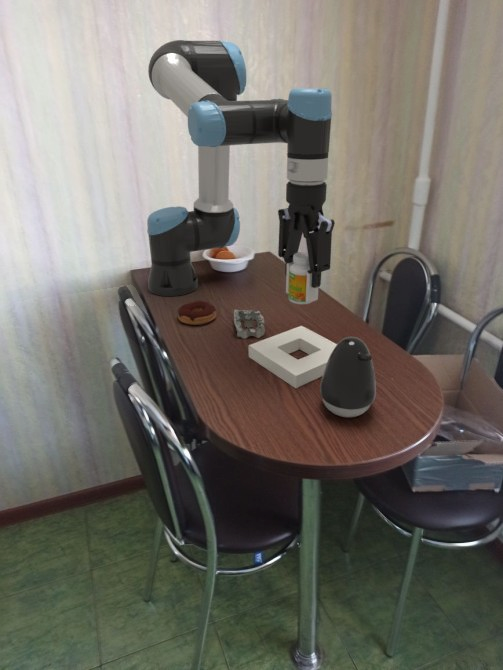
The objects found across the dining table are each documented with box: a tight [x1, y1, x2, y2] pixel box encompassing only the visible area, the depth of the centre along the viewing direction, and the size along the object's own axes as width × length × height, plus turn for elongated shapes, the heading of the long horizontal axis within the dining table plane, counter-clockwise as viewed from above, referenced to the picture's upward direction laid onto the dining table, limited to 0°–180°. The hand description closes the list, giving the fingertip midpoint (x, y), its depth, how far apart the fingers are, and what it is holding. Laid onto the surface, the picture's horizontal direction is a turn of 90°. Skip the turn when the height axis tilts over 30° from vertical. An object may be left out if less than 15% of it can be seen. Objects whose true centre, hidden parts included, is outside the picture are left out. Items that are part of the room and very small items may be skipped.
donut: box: [177, 300, 217, 326], centre depth 125 cm, size 10×10×4 cm
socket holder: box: [248, 325, 338, 389], centre depth 106 cm, size 16×16×3 cm
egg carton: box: [233, 308, 266, 339], centre depth 120 cm, size 11×8×4 cm
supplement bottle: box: [288, 251, 312, 305], centre depth 97 cm, size 5×5×10 cm
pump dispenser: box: [319, 336, 377, 418], centre depth 87 cm, size 10×10×15 cm
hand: (301, 295), depth 99 cm, fingers closed on supplement bottle, 5 cm apart
